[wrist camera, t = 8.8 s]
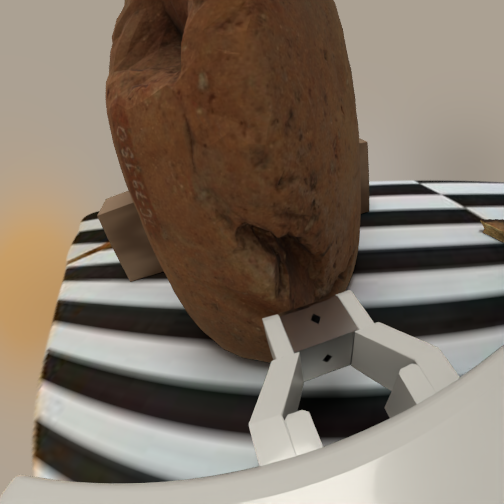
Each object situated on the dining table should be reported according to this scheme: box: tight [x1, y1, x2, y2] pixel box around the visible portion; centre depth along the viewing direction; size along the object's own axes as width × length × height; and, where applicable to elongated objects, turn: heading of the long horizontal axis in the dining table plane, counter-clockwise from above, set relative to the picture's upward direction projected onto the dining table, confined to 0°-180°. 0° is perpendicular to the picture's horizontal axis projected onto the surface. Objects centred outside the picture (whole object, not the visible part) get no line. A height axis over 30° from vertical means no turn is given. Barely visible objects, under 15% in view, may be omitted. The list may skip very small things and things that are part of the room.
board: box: [97, 139, 369, 282], centre depth 22 cm, size 20×3×6 cm, turn 103°
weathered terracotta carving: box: [106, 0, 361, 362], centre depth 12 cm, size 11×8×20 cm
